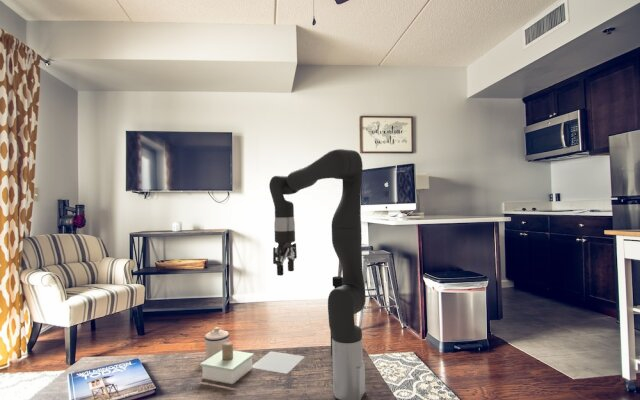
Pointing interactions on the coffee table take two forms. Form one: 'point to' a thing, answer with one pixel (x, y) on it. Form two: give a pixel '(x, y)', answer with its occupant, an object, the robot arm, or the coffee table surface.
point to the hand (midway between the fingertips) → (285, 273)
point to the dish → (227, 373)
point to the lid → (227, 358)
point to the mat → (278, 362)
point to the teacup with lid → (215, 341)
